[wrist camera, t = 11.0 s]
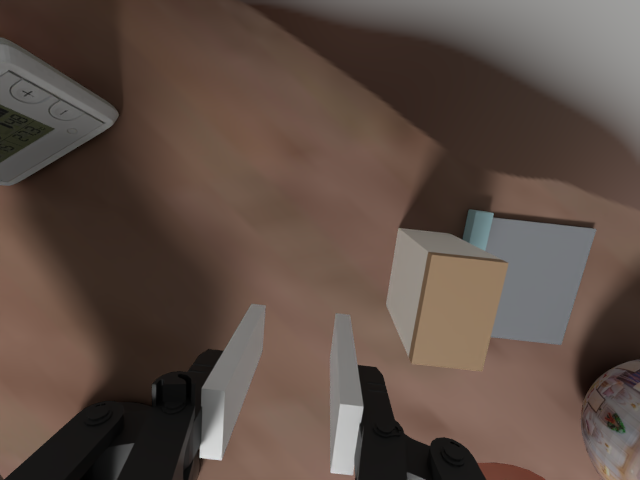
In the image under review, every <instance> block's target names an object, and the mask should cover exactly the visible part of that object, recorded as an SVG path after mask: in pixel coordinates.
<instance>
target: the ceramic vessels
mask: <svg viewBox="0 0 640 480" xmlns="http://www.w3.org/2000/svg"><path fill="white" fill-rule="evenodd" d="M477 464H478V466H479V467H480V469H481V471H482V473H483V475H484V476H485V478H486V480H545V479H544V478H543V477H541V476H539V475H537V474H535V473H533V472H531V471H529V470H527V469H523V468H520V467H517V466H514V465H508V464H500V463H477Z"/></svg>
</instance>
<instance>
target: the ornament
mask: <svg viewBox="0 0 640 480" xmlns="http://www.w3.org/2000/svg"><path fill="white" fill-rule="evenodd" d="M581 428H582V435H583V440H584V443H585V446H586V450H587V452H588V455H589V457H590V459H591V461H592V463H593V465H594V467H595V469H596V471H597V472H598V474H599V475H600V477H601V478H602V480H640V359H638V360H632V361H629V362H625V363H623V364H620V365H618V366H616V367H614V368H612V369H610V370H608V371H607V372H605V373H604V374H603V375H601V376H600V377H599V378H598V379H597V380H596V381H595V382H594V383H593V385H592V386H591V387H590V389H589V391H588V392H587V394H586V396H585V399H584V402H583V405H582V412H581Z"/></svg>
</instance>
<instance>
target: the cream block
mask: <svg viewBox="0 0 640 480" xmlns="http://www.w3.org/2000/svg"><path fill="white" fill-rule="evenodd" d="M508 264H509V263H508V262H506V261H504V260H502V259H500V258H498V257H496V256H494V255H492V254H490V253H488V252H486V251H484V250H482V249H480V248H478V247H476V246H474V245H472V244H470V243H468V242H466V241H464V240H462V239H460V238H458V237H456V236H454V235H452V234H450V233H441V232H432V231H422V230H413V229H404V228H398V234H397V240H396V246H395V252H394V259H393V265H392V271H391V277H390V283H389V290H388V296H387V302H386V306H387V308H388V310H389V313H390V315H391V317H392V320H393V322H394V324H395V327H396V329H397V331H398V334H399V336H400V338H401V341H402V343H403V345H404V348H405V350H406V352H407V354H408V357H409V359H410V361H411V364H418V365H428V366H437V367H446V368H455V369H464V370H473V371H482V370H483V366H484V362H485V358H486V354H487V350H488V346H489V342H490V338H491V333H492V329H493V325H494V321H495V317H496V313H497V309H498V305H499V301H500V297H501V293H502V289H503V285H504V280H505V276H506V272H507V268H508Z"/></svg>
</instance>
